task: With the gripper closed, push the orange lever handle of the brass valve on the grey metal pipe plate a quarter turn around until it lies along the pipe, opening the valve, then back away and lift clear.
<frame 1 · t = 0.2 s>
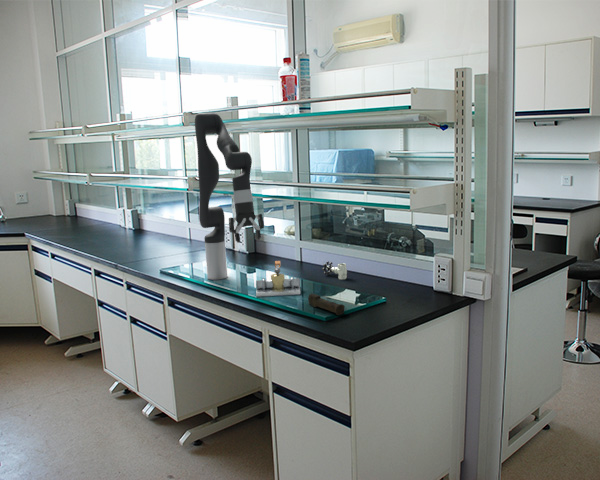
hand: (248, 241, 224), 22 cm above the countertop, tool pointing down, fingers open, 8 cm apart
valve manifold: (278, 291, 229), on the countertop
valve: (336, 277, 248), on the countertop
hand tool: (323, 310, 203), on the countertop
valve lever: (277, 266, 234), point 9 cm above the countertop, hinge at 90.0°
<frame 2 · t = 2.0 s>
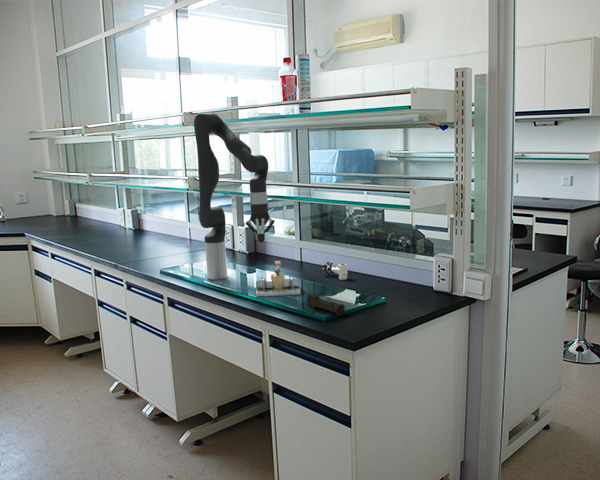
hand: (261, 242, 238), 19 cm above the countertop, tool pointing down, fingers closed
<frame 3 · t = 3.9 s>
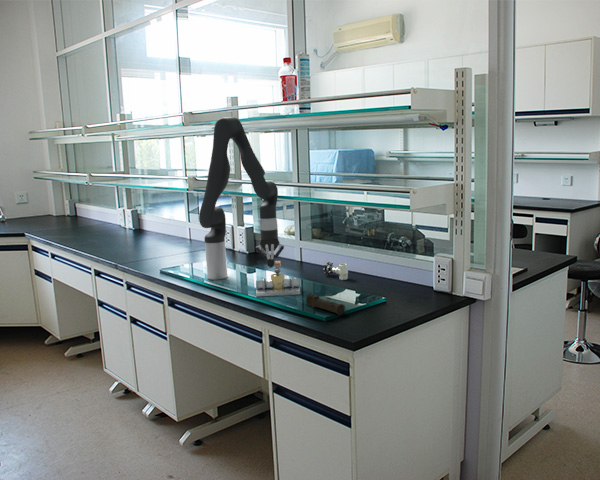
hand: (270, 267, 240), 8 cm above the countertop, tool pointing down, fingers closed
valve lever: (277, 266, 234), point 9 cm above the countertop, hinge at 89.8°, touching gripper
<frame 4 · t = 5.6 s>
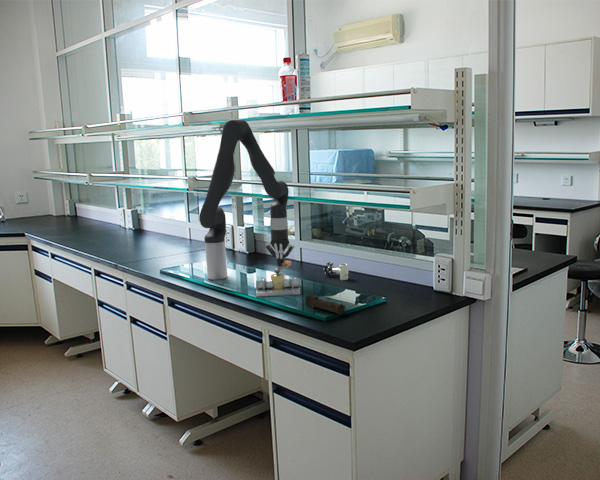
hand: (280, 266, 240), 8 cm above the countertop, tool pointing down, fingers closed
valve lever: (282, 266, 234), point 9 cm above the countertop, hinge at 70.0°, touching gripper
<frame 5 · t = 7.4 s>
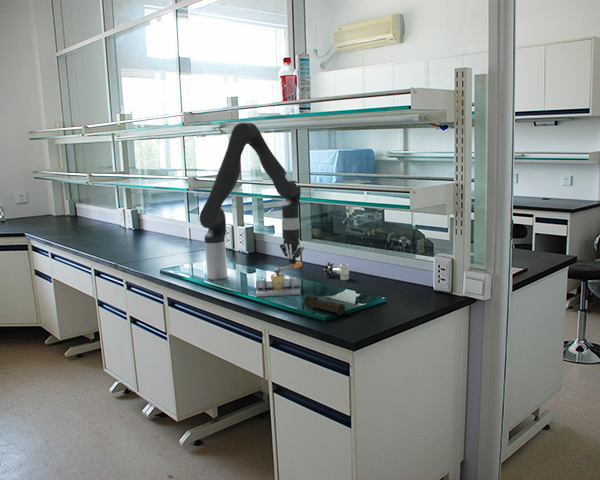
hand: (292, 266, 239), 8 cm above the countertop, tool pointing down, fingers closed
valve lever: (288, 267, 232), point 9 cm above the countertop, hinge at 46.1°, touching gripper
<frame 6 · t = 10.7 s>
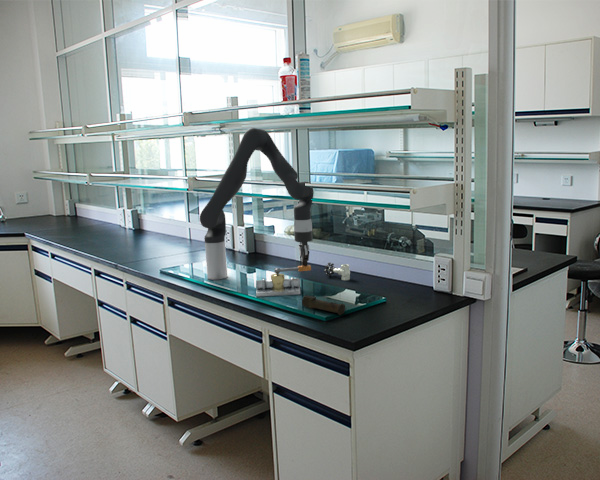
hand: (304, 269, 234), 7 cm above the countertop, tool pointing down, fingers closed
valve lever: (292, 269, 229), point 9 cm above the countertop, hinge at 8.0°
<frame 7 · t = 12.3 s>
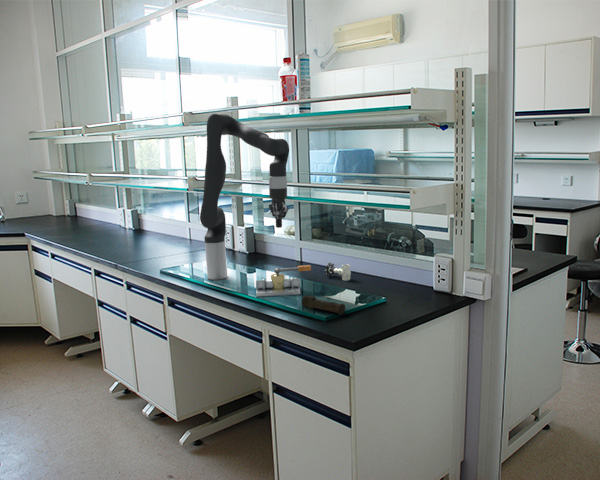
hand: (278, 227, 235), 25 cm above the countertop, tool pointing down, fingers closed
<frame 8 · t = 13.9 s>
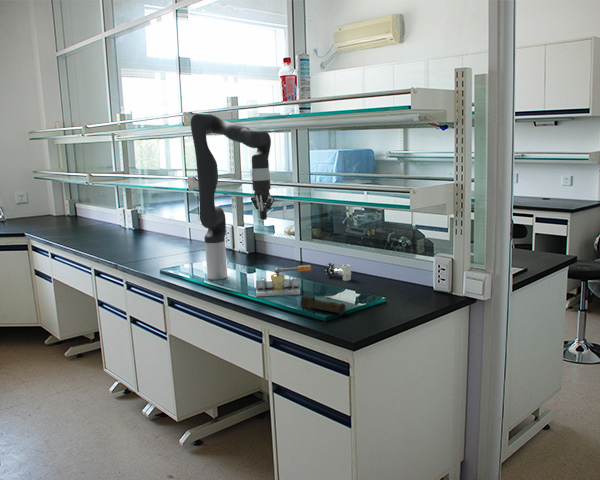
hand: (263, 219, 235), 29 cm above the countertop, tool pointing down, fingers closed
at the end: valve lever at +8° (first picture: +90°); valve moved 3.3 cm from its start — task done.
